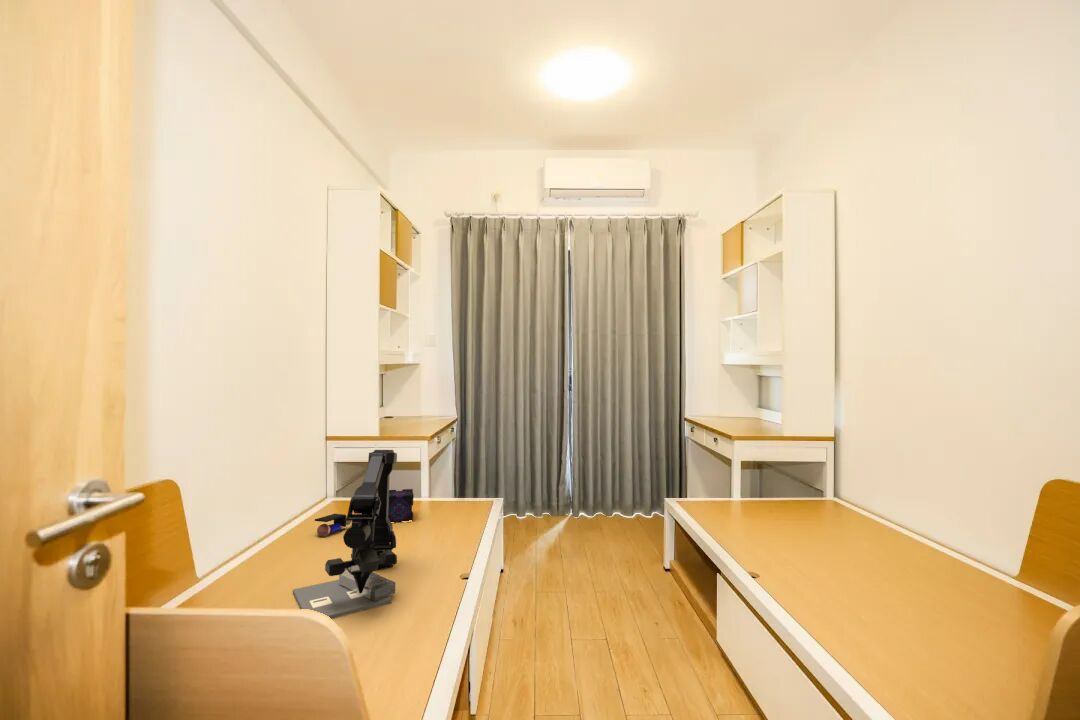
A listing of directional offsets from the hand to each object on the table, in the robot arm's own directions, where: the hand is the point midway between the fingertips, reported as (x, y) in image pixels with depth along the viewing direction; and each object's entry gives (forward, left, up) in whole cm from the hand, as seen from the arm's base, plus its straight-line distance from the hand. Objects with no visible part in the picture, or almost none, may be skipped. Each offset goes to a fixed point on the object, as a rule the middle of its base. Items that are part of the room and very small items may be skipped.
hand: (360, 592), depth 137 cm
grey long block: (-3, -7, -2) cm, 8 cm away
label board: (+4, -6, -3) cm, 7 cm away
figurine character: (-8, -68, -3) cm, 68 cm away
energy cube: (-37, -72, -3) cm, 81 cm away
